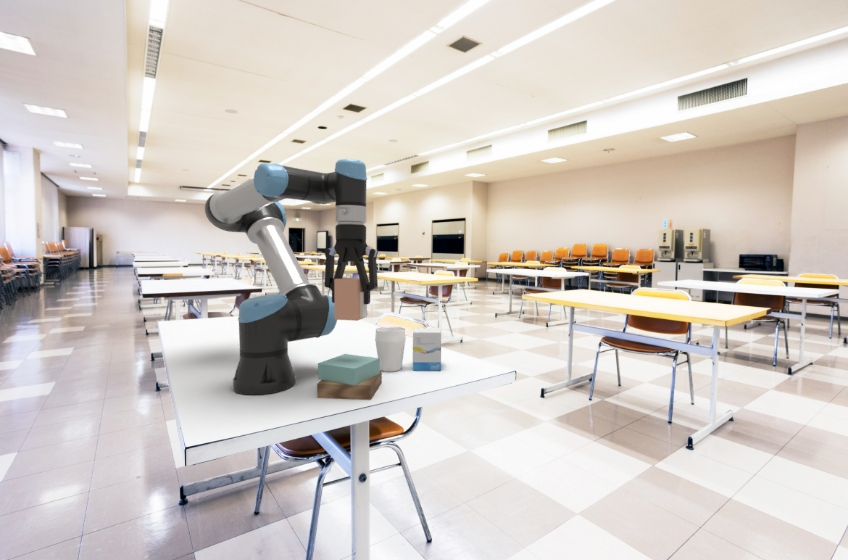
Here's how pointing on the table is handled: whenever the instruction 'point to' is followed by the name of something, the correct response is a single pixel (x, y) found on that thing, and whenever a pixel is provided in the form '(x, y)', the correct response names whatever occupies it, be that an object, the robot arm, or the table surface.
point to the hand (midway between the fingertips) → (350, 316)
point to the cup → (390, 347)
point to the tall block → (347, 298)
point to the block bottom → (349, 389)
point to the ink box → (427, 349)
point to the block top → (348, 369)
